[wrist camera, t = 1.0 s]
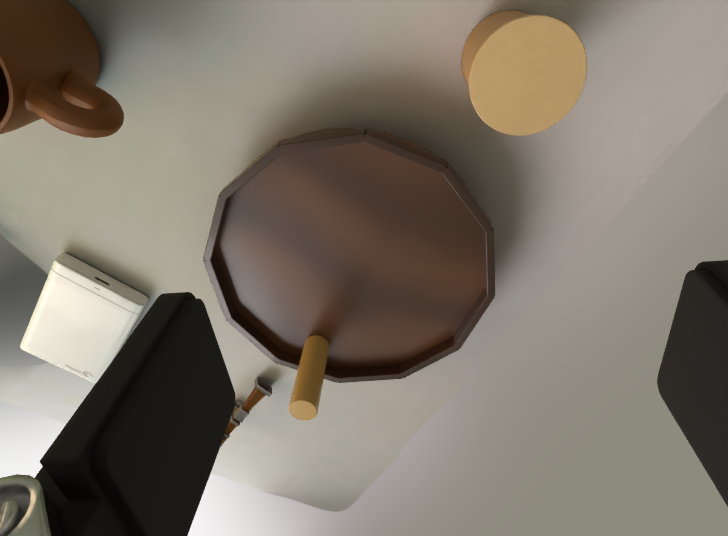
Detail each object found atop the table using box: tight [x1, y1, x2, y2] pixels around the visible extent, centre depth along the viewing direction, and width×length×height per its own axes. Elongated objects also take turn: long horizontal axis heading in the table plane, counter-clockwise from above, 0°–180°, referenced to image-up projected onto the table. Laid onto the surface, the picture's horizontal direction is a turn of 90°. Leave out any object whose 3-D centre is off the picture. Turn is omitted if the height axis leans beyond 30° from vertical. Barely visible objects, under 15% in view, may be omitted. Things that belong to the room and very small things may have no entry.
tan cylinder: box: [462, 10, 587, 135], centre depth 30 cm, size 6×6×7 cm
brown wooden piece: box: [221, 377, 272, 446], centre depth 50 cm, size 2×8×4 cm, turn 137°
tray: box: [203, 128, 495, 420], centre depth 36 cm, size 22×22×8 cm
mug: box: [0, 0, 124, 138], centre depth 30 cm, size 12×8×9 cm, turn 65°
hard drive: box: [20, 253, 148, 383], centre depth 46 cm, size 2×8×12 cm
